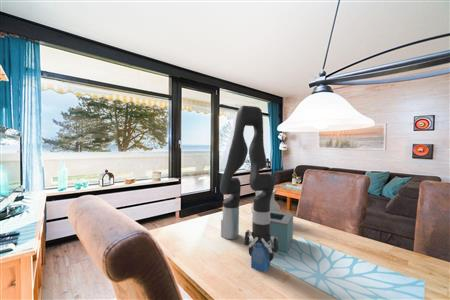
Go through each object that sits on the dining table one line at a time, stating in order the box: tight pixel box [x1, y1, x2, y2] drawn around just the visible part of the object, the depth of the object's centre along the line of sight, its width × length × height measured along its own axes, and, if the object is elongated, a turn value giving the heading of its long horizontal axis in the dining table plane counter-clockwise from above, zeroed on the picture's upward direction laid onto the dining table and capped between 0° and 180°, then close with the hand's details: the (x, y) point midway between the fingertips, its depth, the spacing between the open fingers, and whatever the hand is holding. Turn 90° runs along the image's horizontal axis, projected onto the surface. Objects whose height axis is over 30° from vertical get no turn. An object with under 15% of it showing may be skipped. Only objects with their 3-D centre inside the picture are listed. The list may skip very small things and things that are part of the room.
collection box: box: [254, 210, 294, 254], centre depth 111 cm, size 16×16×14 cm
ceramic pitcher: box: [250, 188, 281, 215], centre depth 141 cm, size 22×20×25 cm
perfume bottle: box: [250, 239, 271, 273], centre depth 89 cm, size 6×6×12 cm
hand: (260, 257), depth 89 cm, fingers open, 8 cm apart
